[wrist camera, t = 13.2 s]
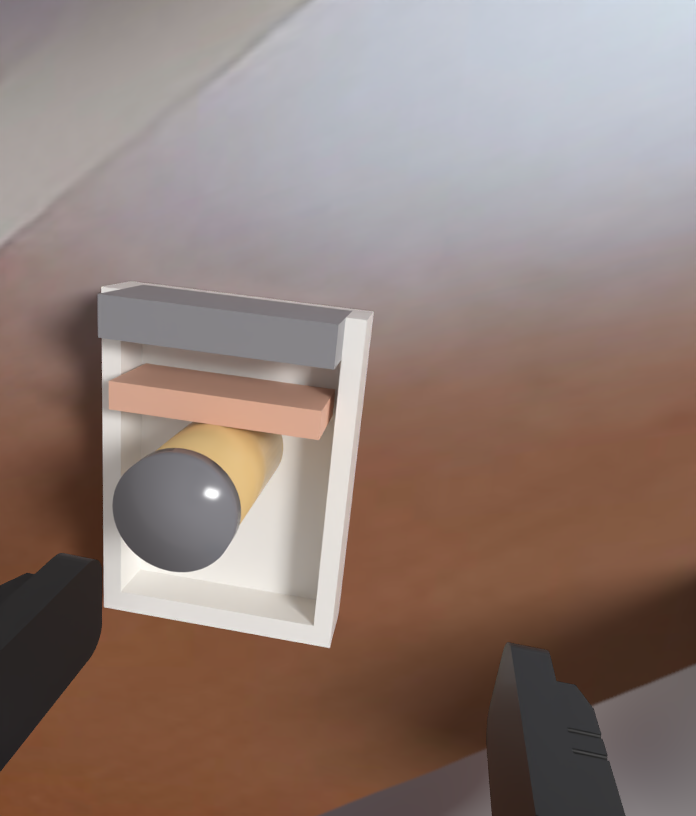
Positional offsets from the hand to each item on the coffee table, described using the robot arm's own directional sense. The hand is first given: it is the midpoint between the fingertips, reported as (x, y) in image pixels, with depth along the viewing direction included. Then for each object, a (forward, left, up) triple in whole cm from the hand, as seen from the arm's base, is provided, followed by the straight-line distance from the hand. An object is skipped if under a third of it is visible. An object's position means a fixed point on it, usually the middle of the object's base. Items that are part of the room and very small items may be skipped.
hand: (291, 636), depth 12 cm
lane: (+6, -7, -22) cm, 24 cm away
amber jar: (+5, -7, -21) cm, 23 cm away
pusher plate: (+1, -8, -21) cm, 22 cm away
